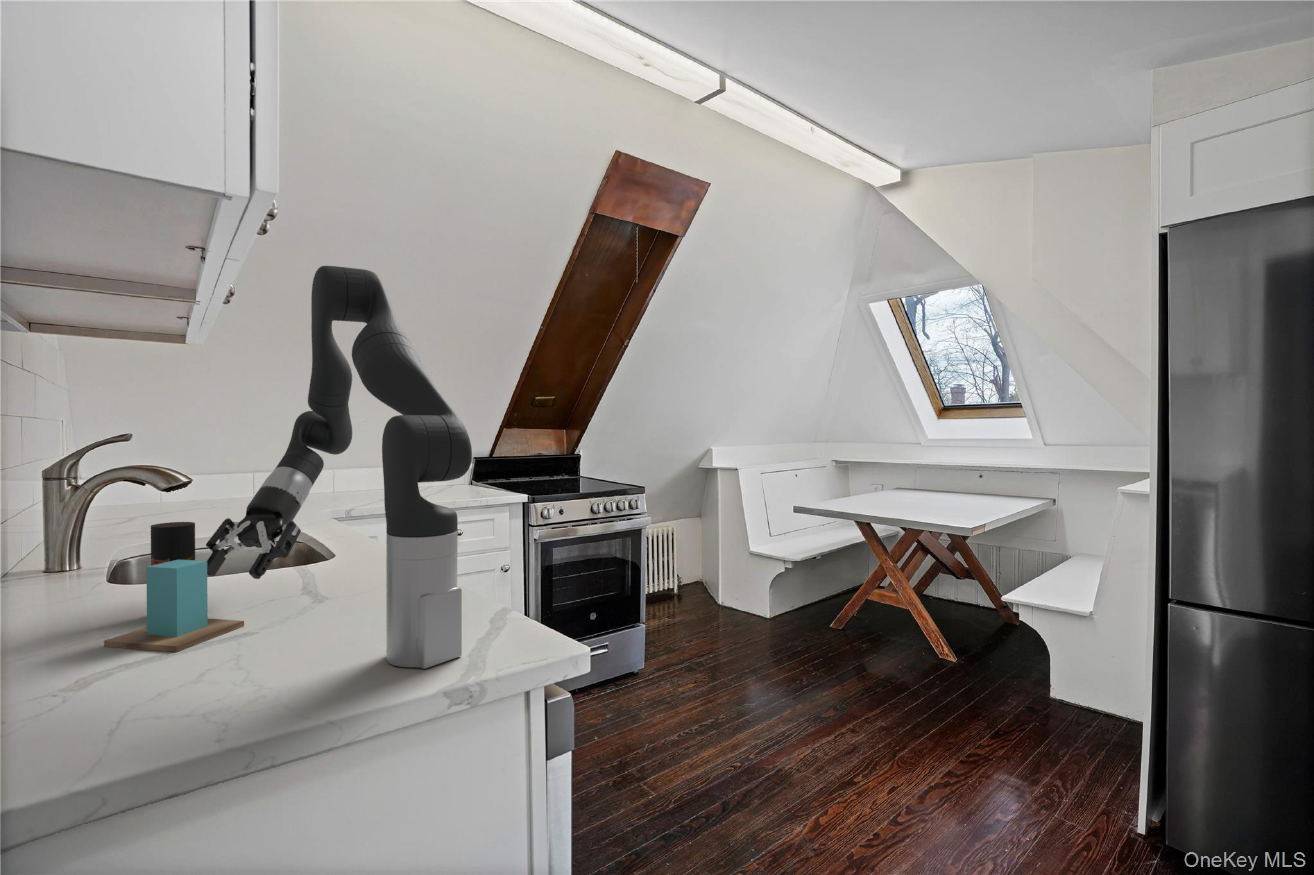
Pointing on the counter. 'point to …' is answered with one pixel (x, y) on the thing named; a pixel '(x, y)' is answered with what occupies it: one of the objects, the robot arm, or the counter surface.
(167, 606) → the teal block
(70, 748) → the counter surface
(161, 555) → the deodorant
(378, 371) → the robot arm
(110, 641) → the post board
